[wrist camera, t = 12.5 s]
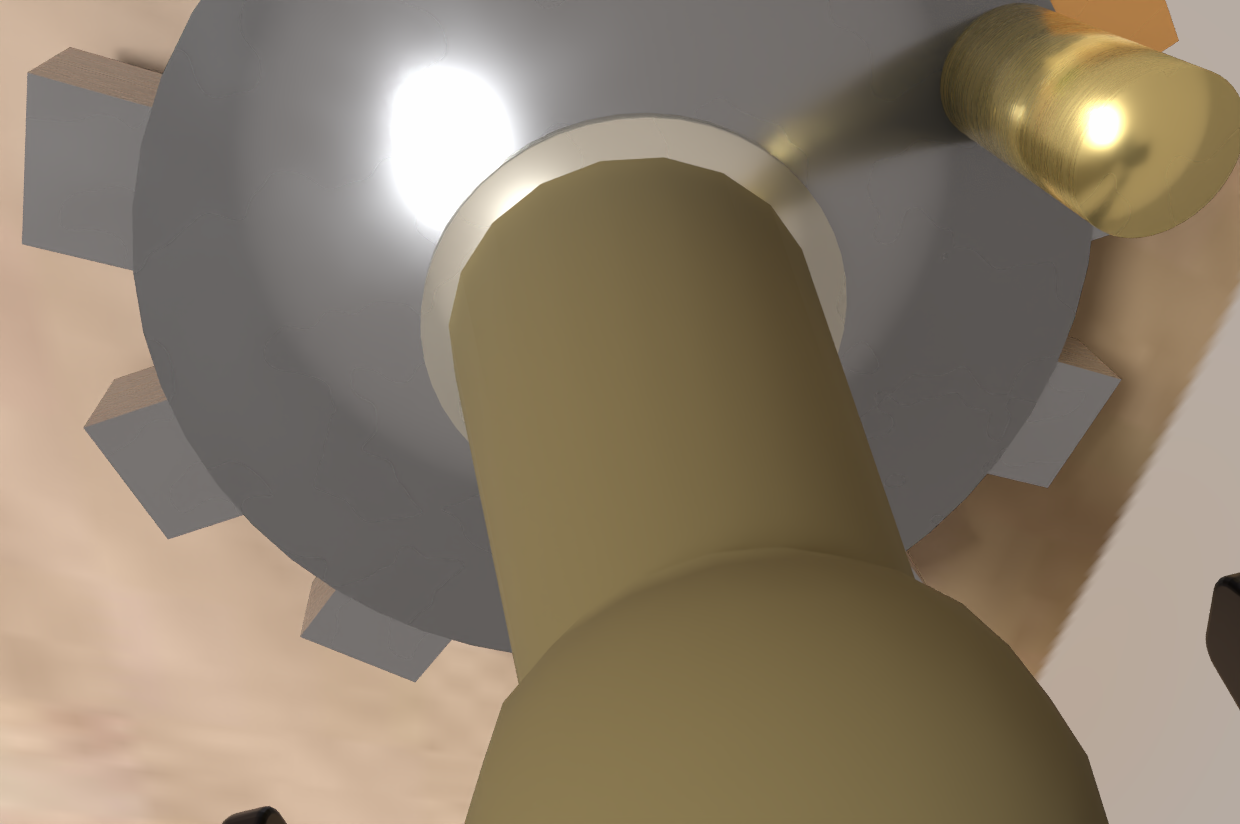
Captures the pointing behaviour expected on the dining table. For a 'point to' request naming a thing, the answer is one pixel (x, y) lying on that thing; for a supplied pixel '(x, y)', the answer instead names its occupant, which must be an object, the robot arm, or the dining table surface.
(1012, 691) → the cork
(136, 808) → the dining table surface
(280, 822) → the robot arm
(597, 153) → the sprocket
